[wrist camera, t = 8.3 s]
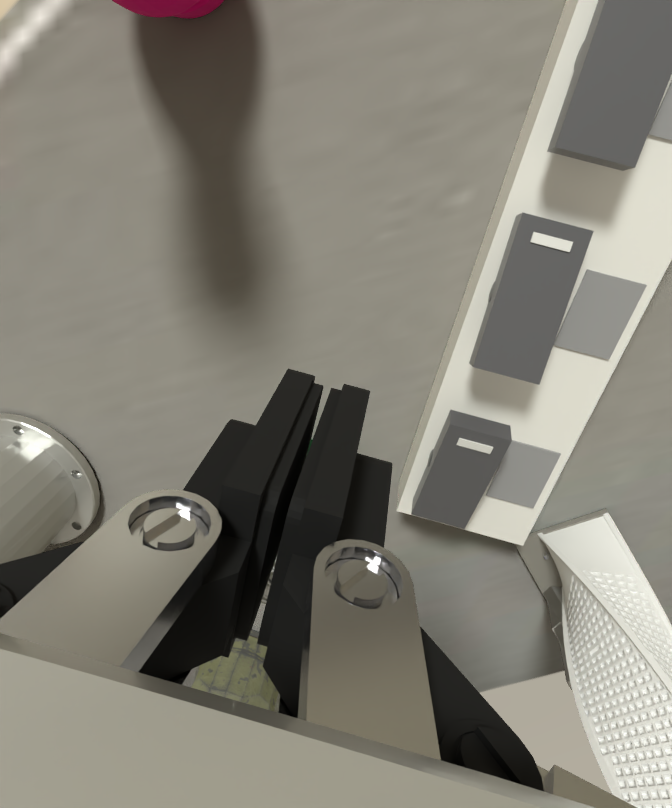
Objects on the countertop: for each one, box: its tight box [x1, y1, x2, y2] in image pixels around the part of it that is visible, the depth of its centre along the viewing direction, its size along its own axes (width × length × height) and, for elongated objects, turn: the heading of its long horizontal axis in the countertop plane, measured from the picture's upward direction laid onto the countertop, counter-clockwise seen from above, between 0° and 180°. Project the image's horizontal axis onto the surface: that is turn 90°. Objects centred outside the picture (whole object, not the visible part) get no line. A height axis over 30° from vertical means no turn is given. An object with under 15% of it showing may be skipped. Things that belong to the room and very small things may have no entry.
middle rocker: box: [469, 213, 594, 385], centre depth 29 cm, size 8×4×2 cm, turn 167°
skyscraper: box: [515, 509, 672, 808], centre depth 29 cm, size 8×8×28 cm
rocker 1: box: [411, 409, 512, 529], centre depth 34 cm, size 8×4×2 cm, turn 167°
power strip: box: [397, 0, 672, 546], centre depth 32 cm, size 33×9×4 cm, turn 167°
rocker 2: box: [547, 0, 672, 171], centre depth 24 cm, size 8×4×2 cm, turn 167°
